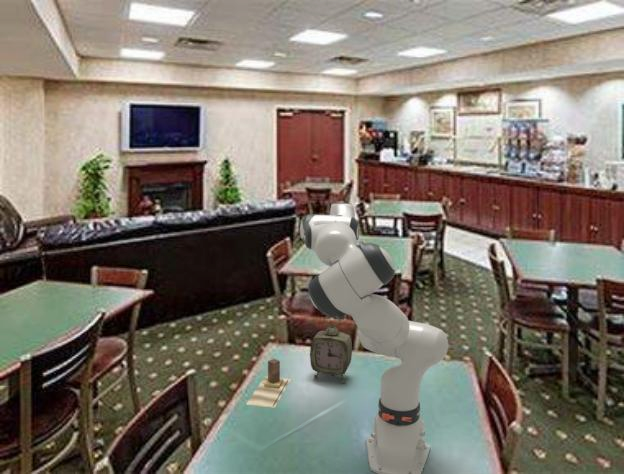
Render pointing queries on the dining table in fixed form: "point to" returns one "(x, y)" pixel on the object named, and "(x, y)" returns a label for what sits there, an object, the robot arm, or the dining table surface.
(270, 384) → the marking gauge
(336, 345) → the tabletop clock
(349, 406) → the dining table surface
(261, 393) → the plywood board
